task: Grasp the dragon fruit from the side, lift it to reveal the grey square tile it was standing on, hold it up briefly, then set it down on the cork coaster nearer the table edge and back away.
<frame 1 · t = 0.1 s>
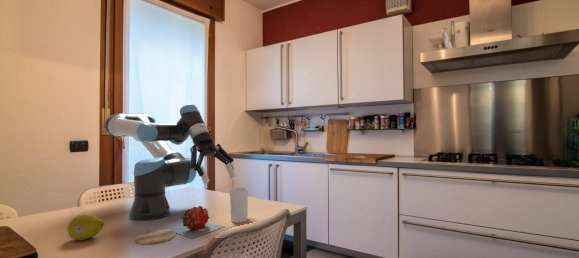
hand: (221, 180, 119), 15 cm above the table, tool tilted 35°, fingers open, 13 cm apart
coaster: (156, 237, 99), on the table
mug: (241, 219, 118), on the table
dragon fruit: (196, 228, 107), resting on grey square tile
green mango: (85, 239, 98), on the table
grey square tile: (196, 228, 107), on the table
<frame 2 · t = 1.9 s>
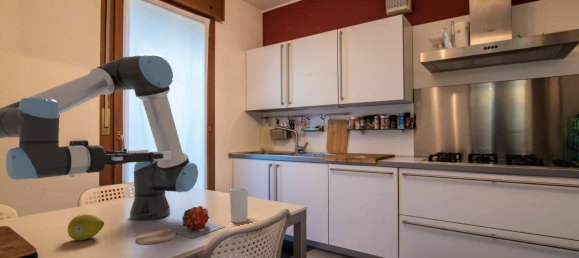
hand: (158, 154, 99), 27 cm above the table, tool horizontal, fingers open, 13 cm apart
nothing on the table moved.
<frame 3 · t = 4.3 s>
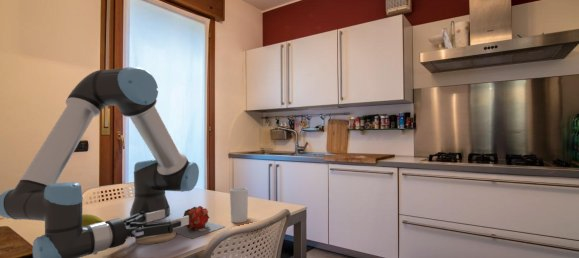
hand: (175, 216, 100), 6 cm above the table, tool horizontal, fingers open, 13 cm apart
nothing on the table moved.
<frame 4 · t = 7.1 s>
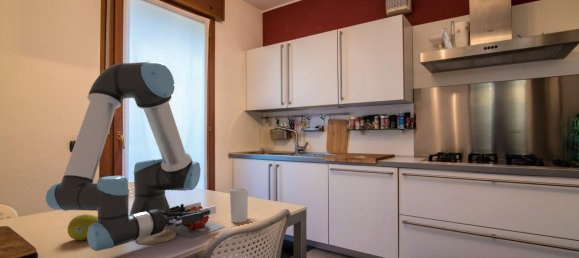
hand: (207, 207, 111), 6 cm above the table, tool horizontal, fingers closed on dragon fruit, 8 cm apart
dragon fruit: (196, 228, 107), resting on grey square tile, touching gripper
everything else where it was.
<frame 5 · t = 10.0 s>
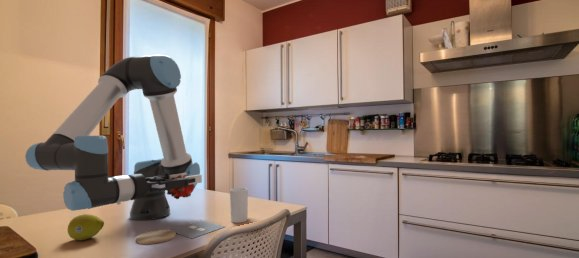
hand: (193, 177, 108), 18 cm above the table, tool horizontal, fingers closed on dragon fruit, 8 cm apart
dragon fruit: (181, 198, 104), point 12 cm above the table, touching gripper
everything else where it was.
when the fingers open (8 cm above the table, at t = 12.9 s): dragon fruit drops 1 cm, resting on coaster.
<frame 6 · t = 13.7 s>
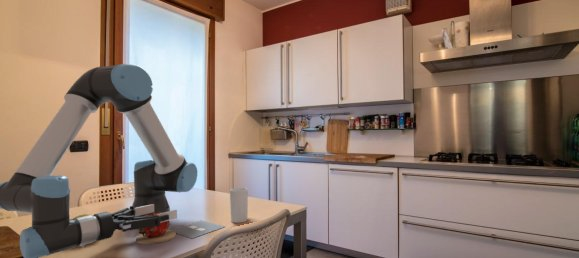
hand: (164, 210, 101), 8 cm above the table, tool horizontal, fingers open, 13 cm apart
dragon fruit: (155, 236, 99), resting on coaster
everything else where it was.
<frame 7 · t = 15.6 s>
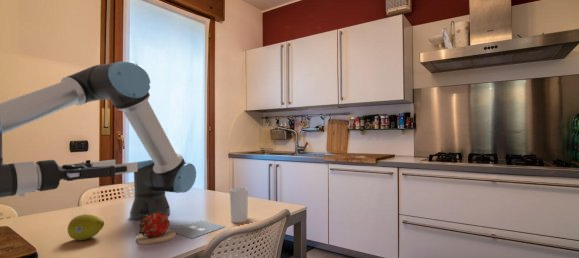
hand: (125, 165, 91), 25 cm above the table, tool horizontal, fingers open, 13 cm apart
nothing on the table moved.
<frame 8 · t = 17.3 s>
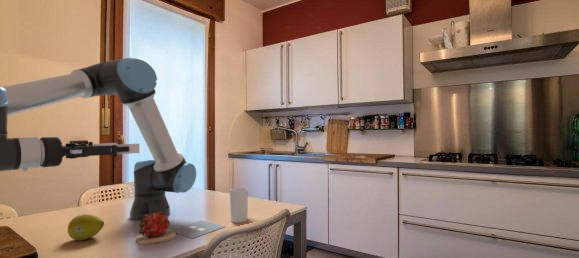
hand: (127, 147, 92), 30 cm above the table, tool horizontal, fingers open, 13 cm apart
nothing on the table moved.
at the end: dragon fruit 0.2 cm from the coaster (horizontally); dragon fruit resting on coaster; dragon fruit moved 13.8 cm from its start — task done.
